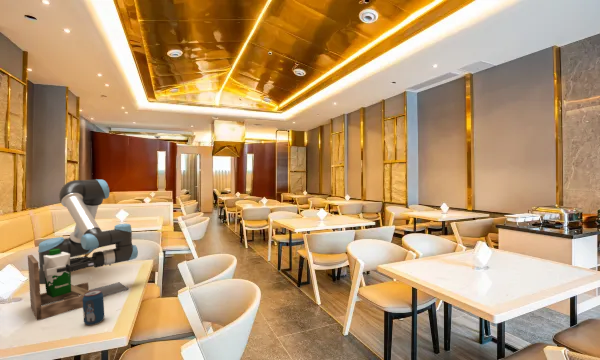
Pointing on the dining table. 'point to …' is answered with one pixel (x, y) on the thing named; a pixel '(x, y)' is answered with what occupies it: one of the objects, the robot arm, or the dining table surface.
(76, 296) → the offcut lower
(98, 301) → the soda can
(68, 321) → the dining table surface
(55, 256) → the soya milk
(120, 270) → the dining table surface
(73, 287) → the offcut upper
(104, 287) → the mat
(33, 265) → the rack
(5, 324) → the dining table surface
